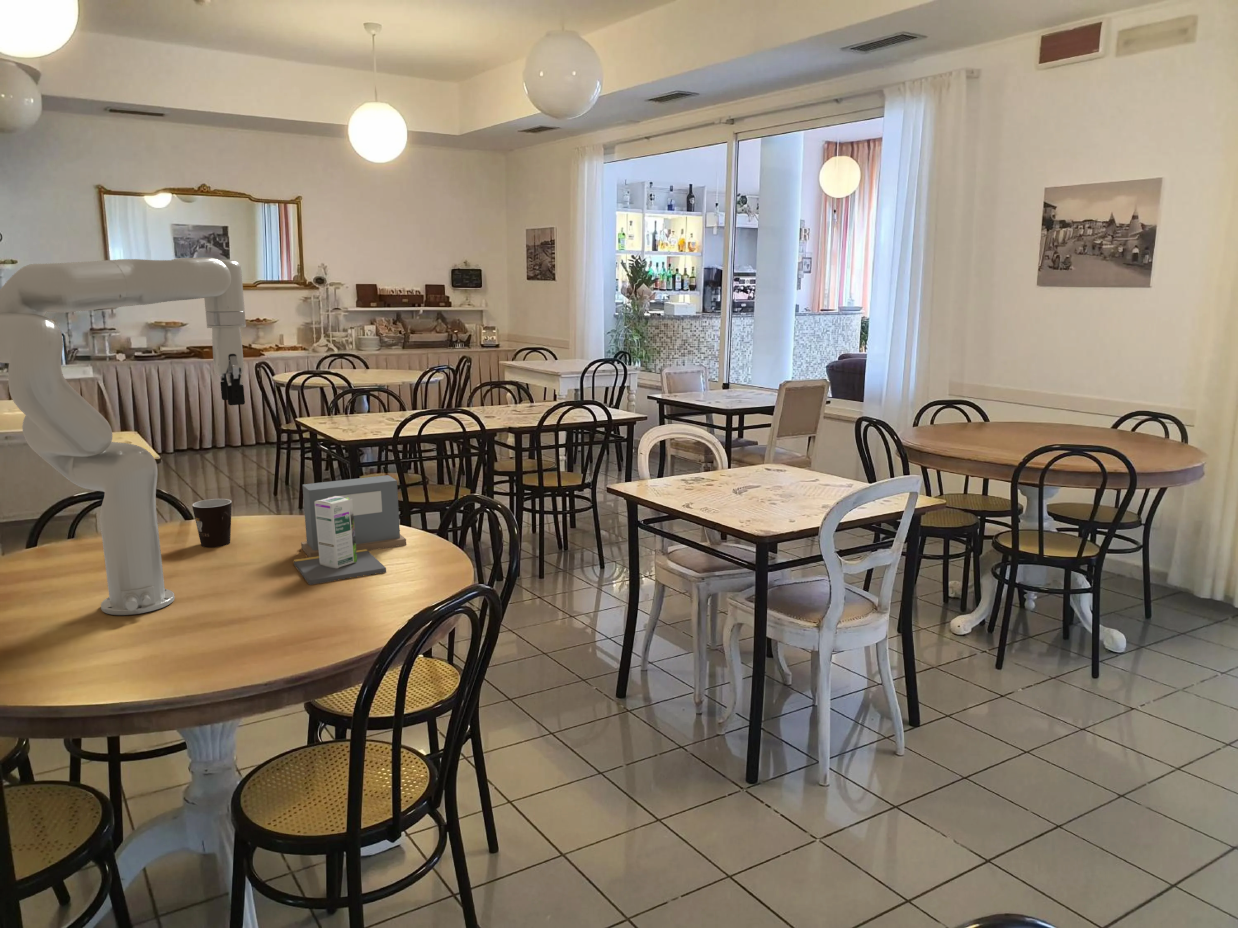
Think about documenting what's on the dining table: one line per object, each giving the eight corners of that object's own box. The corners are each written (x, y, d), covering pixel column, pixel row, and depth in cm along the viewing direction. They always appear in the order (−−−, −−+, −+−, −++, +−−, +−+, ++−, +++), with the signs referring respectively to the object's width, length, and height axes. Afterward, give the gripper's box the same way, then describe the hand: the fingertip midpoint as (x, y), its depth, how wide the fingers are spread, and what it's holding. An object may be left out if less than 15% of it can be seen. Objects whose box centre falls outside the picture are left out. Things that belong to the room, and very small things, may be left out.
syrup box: (336, 569, 193) (332, 503, 190) (318, 564, 196) (313, 499, 193) (357, 562, 197) (353, 498, 194) (339, 558, 200) (335, 494, 198)
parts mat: (386, 572, 194) (386, 567, 194) (309, 584, 186) (309, 579, 186) (366, 553, 207) (366, 548, 207) (293, 564, 199) (293, 559, 199)
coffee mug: (195, 541, 218) (191, 501, 216) (234, 537, 221) (231, 497, 219) (196, 554, 207) (191, 512, 205) (236, 549, 211) (232, 508, 209)
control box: (406, 544, 214) (403, 481, 211) (310, 559, 203) (305, 492, 200) (394, 534, 222) (390, 473, 219) (301, 548, 212) (296, 483, 208)
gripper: (201, 319, 193) (209, 399, 197) (211, 322, 179) (219, 408, 182) (239, 318, 197) (245, 396, 200) (251, 321, 182) (258, 405, 186)
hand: (233, 402), depth 191 cm, fingers open, 9 cm apart
